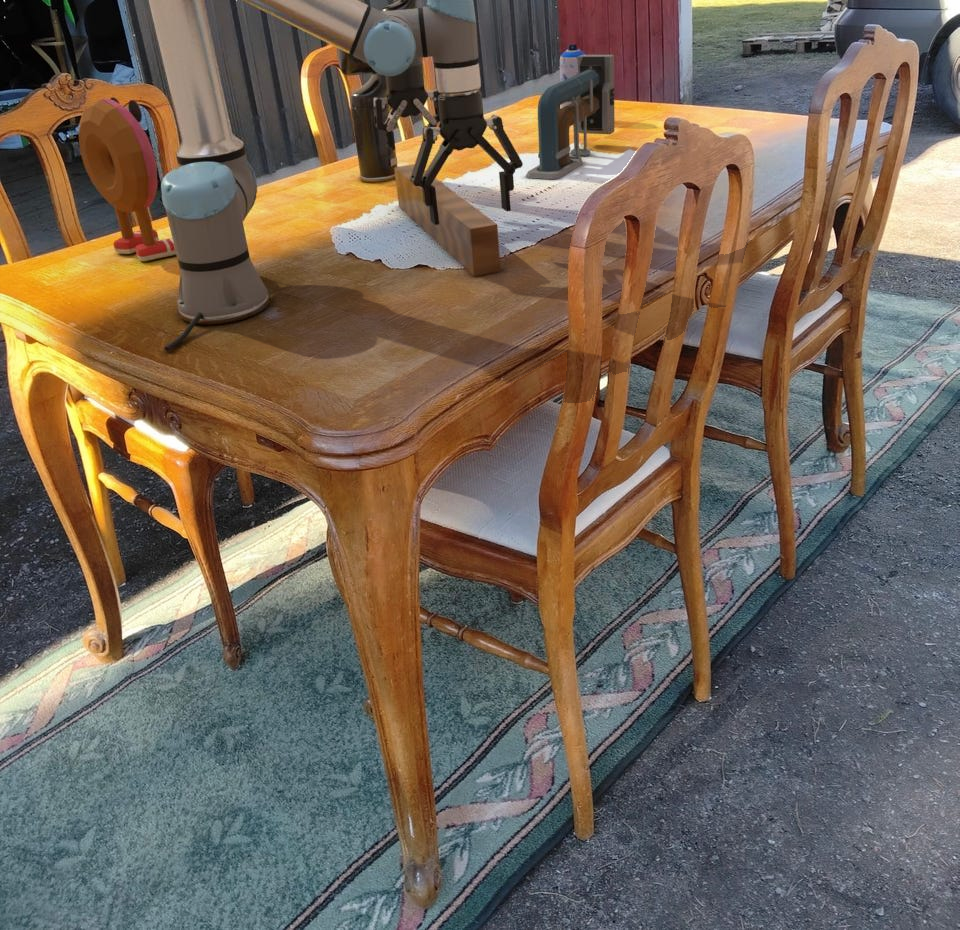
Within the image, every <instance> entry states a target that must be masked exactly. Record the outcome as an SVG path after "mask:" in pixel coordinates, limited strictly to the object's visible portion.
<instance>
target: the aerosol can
mask: <svg viewBox="0 0 960 930" xmlns="http://www.w3.org/2000/svg"><path fill="white" fill-rule="evenodd" d="M580 55H586V54H585V52H584V51H583V50H581V49H579V48H578V44H577V43H574V44H568V48H567V49H566V50H565V51H563V52H562V53H561V55H560V56H559V79H560V81H559V82H562V81H564V80H566V79H568V78H570V77H573V76H575V75H577V74H578V58H577V57H578V56H580ZM571 103H573V102H572V101H571V102H565V103H563V104H561V105H560V109H561V108H563V107H565V106H567V105H569V104H571Z"/></svg>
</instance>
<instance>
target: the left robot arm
mask: <svg viewBox="0 0 960 930" xmlns="http://www.w3.org/2000/svg"><path fill="white" fill-rule="evenodd" d="M241 1H242V2H244V3H246V4H248V5H249V6H252V7H254V8H256V9H259V10H260V11H263V12H264V13H266V14H269V15H270V16H272V17H274V18H276V19H278V20H280V21H283V22H284V23H287V24H288V25H291V26H293V27H295V28H297V29H299V30H300V31H302V32H305V33H307V34H309V35H311V36H313V37H315V38H317V39H319V40H321V41H323V42H325V43H326V44H328V45H331V46H332V47H334V48H336V49H337V48H339V49H341V50H343V51H345V52H347V53H349V54H350V55H352V56H354V57H356V58H358V59H360V60H362V61H364V62H365V63H368V65H369V66H370V67H371V68H372V69H373V70H375V71H376V72H377V73H379V74H381V75H384V76H395V75H398V74H401V73H402V72H404V71H405V70H406V69H407V68H408V67H409V66H410V64H411V63H412V62H413V60H414V59H415V58H423V59H424V58H430V57H431V58H433V66H434V74H435V85H436V89H437V91H438V92H439V93H441V94H440V95H439V97H438V106H439V116H440V122H439V126H436V127H428V126H427V125H424V126H423V127H422V140H421V144H420V147H419V150H418V153H417V155H416V156H417V157H416V160H415V162H414V164H415V165H414V168H413V171H412V175H411V178H410V182H411V183H412V184H414V185H415V186H420V187H421V188H422V196H423V202H424V204H425V205H426V206H429V209H430V218H431V222H432V223H433V224H435V225H438V224H439V217H438V208H437V199H436V190H435V187H434V186H432V185H431V184H432V183H433V181H434V179H435V178H436V179H437V177H438V174H439V173H440V171H441V169H442V168H443V166H444V165H445V163H446V161H447V159H448V157H449V156H450V155H451V154H452V153H453V152H454V150H456V151H463V150H465V149H475V148H476V147H477V146H479V147H480V148H481V149H482V150H483V151H484V152H485V153H486V154H487V155H488V156H489V157H490V158H491V159H493V161H494V162H495V163H496V164H497V165H498V166H499V167H500V168H501V169H502V170H503V171H499V172H498V178H499V190H500V191H499V192H500V202H501V203H500V204H501V209H503V210H504V211H505V212H511V211H512V207H511V191H514V189H515V184H514V183H515V182H514V181H515V180H514V174H515V173H516V170H518V169H521V168H522V167H523V165H524V163H523V161H522V159H521V157H520V156H519V154H518V152H517V150H516V149H515V146H514V145H513V143H512V141H511V140H510V138H509V136H508V134H507V133H506V131H505V128H504V123H503V118H502V117H500V116H499V115H496V114H492V115H491V116H490V117H488V118H485V116H484V106H483V105H484V103H483V93H482V92H481V90H479V89H481V88H482V79H481V70H480V60H479V59H480V58H479V45H478V31H477V30H478V29H477V19H476V12H475V11H476V10H475V4H474V0H426V1H427V2H426V6H422V7H417V9H405V10H393V11H382V12H381V10H379V9H377V8H374V7H372V6H371V5H369V4H367V3H365V2H363V1H362V0H361V1H359V0H241ZM148 4H149V8H150V12H151V16H152V21H153V24H154V25H153V26H154V29H155V33H156V38H157V42H158V46H159V49H160V50H159V51H160V55H161V58H162V64H163V67H164V72H165V77H166V80H167V84H168V89H169V92H170V98H171V102H172V105H173V110H174V114H175V117H176V122H177V127H178V131H179V134H180V139H181V142H180V144H179V146H178V148H177V149H176V150H175V157H176V162H177V165H178V168H173V169H172V170H170V171H169V172H167V173H166V174H165V175H164V176H163V178H162V180H161V182H160V191H161V200H162V205H163V207H164V209H165V214H166V217H167V221H168V226H169V230H170V234H171V238H173V242H174V246H175V251H176V255H175V256H176V258H177V262H178V266H179V283H178V294H177V310H178V314H179V318H180V319H182V320H183V321H184V322H186V323H189V324H188V325H187V327H186V328H185V329H184V330H183V332H182V333H181V334H180V335H179V336H178V337H176V339H174V340H172V341H171V342H170V343H168V344H167V345H165V346H164V350H165V351H166V352H170V351H171V350H172V349H174V348H175V347H176V346H178V345H179V344H181V343H182V342H183V341H184V340H185V339H186V338H187V337H188V336H189V334H190V333H191V332H192V330H193V329H194V327H195V326H197V325H202V326H203V325H204V326H205V325H206V326H210V325H222V324H230V323H233V322H239V321H241V320H245V319H248V318H251V317H253V316H256V315H258V314H260V312H263V311H264V310H265V309H266V308H267V307H268V306H269V305H270V296H269V292H268V290H267V287H266V284H265V283H264V282H263V280H262V278H261V276H260V274H259V272H258V270H257V269H256V267H255V265H254V264H253V262H252V260H251V257H250V251H249V246H248V241H247V236H246V232H245V227H244V222H245V220H246V218H247V216H248V215H249V213H250V212H251V210H252V209H253V207H254V205H255V203H256V199H257V194H258V181H257V178H256V173H255V171H254V169H253V168H252V166H251V164H250V163H249V161H248V157H247V152H246V148H245V143H244V142H243V140H241V139H240V138H239V137H237V136H236V135H235V134H234V133H233V130H232V125H231V120H230V115H229V110H228V106H227V101H226V96H225V92H224V86H223V82H222V77H221V72H220V67H219V63H218V59H217V53H216V48H215V44H214V40H213V39H214V38H213V35H212V29H211V25H210V20H209V16H208V11H207V7H206V0H148ZM487 127H488V128H489V129H490V130H491V131H493V133H494V135H495V137H496V138H497V140H498V142H499V144H500V146H501V148H502V149H503V151H504V152H505V154H506V156H507V158H508V159H509V161H507V160H506V159H505V158H504V157H503V156H502V155H501V154H500V153H499V152H498V151H497V149H496V148H494V146H493V145H492V144H491V143H490V142H489V141H488V140H487V139H486V137H484V136H483V135H484V134H485V132H486V129H487ZM438 135H440V136H441V138H442V139H443V140H442V141H441V144H440V145H439V148H438V150H437V152H436V153H435V155H434V157H433V159H432V161H431V162H430V163H429V165H428V161H429V159H430V156H431V152H432V149H433V146H434V144H433V141H434V140H436V138H437V139H438ZM427 165H428V166H427ZM426 167H427V169H426ZM424 171H426V172H425V174H424ZM423 174H424V175H423Z"/></svg>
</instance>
